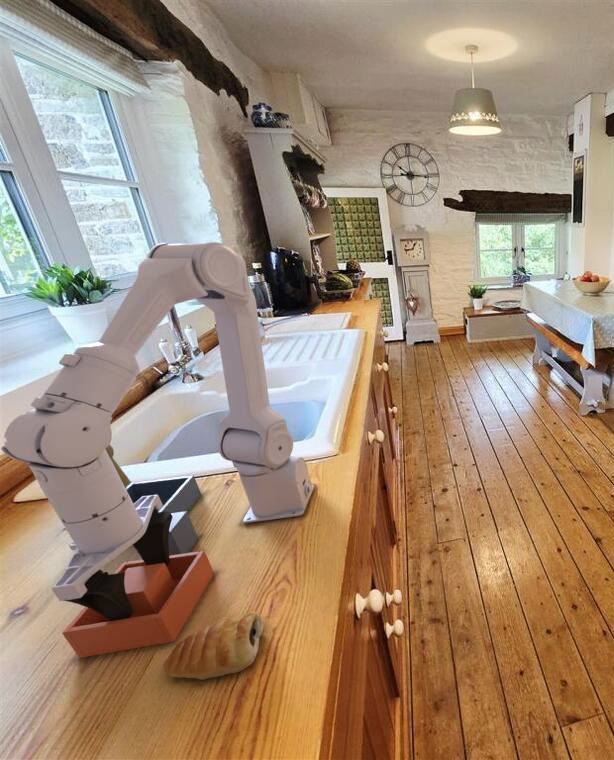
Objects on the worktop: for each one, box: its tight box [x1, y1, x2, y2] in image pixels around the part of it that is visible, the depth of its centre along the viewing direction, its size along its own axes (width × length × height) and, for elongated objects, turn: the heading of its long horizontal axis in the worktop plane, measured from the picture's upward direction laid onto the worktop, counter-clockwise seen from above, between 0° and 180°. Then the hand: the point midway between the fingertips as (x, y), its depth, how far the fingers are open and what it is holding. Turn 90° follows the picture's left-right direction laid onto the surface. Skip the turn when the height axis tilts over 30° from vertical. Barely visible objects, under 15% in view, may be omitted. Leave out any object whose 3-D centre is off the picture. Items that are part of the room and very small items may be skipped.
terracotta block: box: [124, 563, 176, 618], centre depth 52 cm, size 4×4×6 cm
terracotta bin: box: [61, 550, 215, 659], centre depth 53 cm, size 10×10×4 cm
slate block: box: [168, 511, 199, 556], centre depth 62 cm, size 4×4×6 cm
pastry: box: [162, 610, 265, 681], centre depth 47 cm, size 9×7×4 cm
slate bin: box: [126, 475, 203, 514], centre depth 69 cm, size 10×10×4 cm
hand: (142, 590), depth 52 cm, fingers open, 7 cm apart
